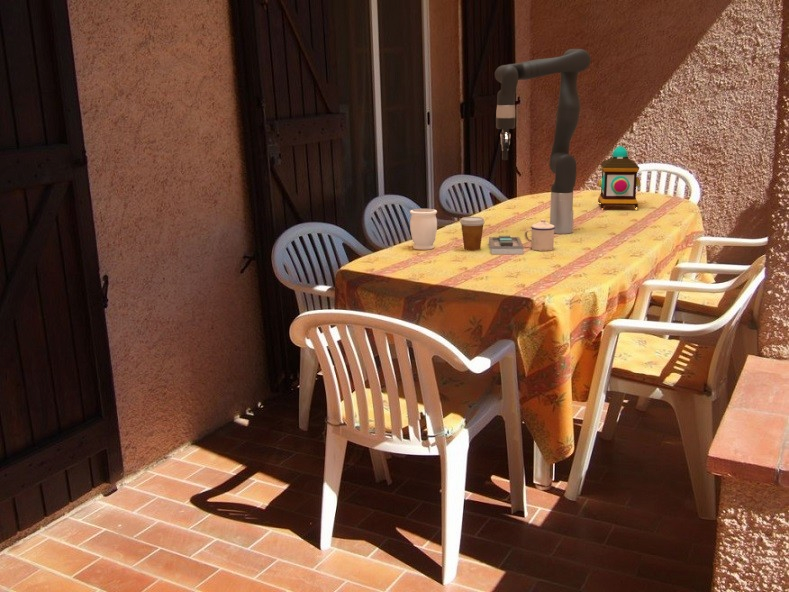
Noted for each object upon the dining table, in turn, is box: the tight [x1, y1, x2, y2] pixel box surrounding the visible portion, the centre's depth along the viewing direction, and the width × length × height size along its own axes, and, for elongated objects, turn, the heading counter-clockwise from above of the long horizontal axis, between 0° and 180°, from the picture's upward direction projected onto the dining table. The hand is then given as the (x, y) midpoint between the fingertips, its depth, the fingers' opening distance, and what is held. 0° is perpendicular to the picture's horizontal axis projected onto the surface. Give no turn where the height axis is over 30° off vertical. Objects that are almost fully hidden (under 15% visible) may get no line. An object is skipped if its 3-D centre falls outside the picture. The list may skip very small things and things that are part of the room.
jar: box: [409, 208, 438, 251], centre depth 346 cm, size 11×10×15 cm
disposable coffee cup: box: [459, 216, 485, 251], centre depth 343 cm, size 10×10×12 cm
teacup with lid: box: [524, 218, 555, 252], centre depth 342 cm, size 12×9×12 cm
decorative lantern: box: [597, 146, 641, 209], centre depth 428 cm, size 20×20×30 cm
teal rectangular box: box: [500, 238, 512, 244], centre depth 342 cm, size 4×3×2 cm
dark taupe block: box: [501, 241, 513, 246], centre depth 338 cm, size 4×3×2 cm
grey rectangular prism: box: [498, 235, 512, 241], centre depth 347 cm, size 4×3×2 cm
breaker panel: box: [488, 236, 524, 255], centre depth 343 cm, size 12×18×3 cm, turn 177°
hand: (504, 159), depth 358 cm, fingers closed
